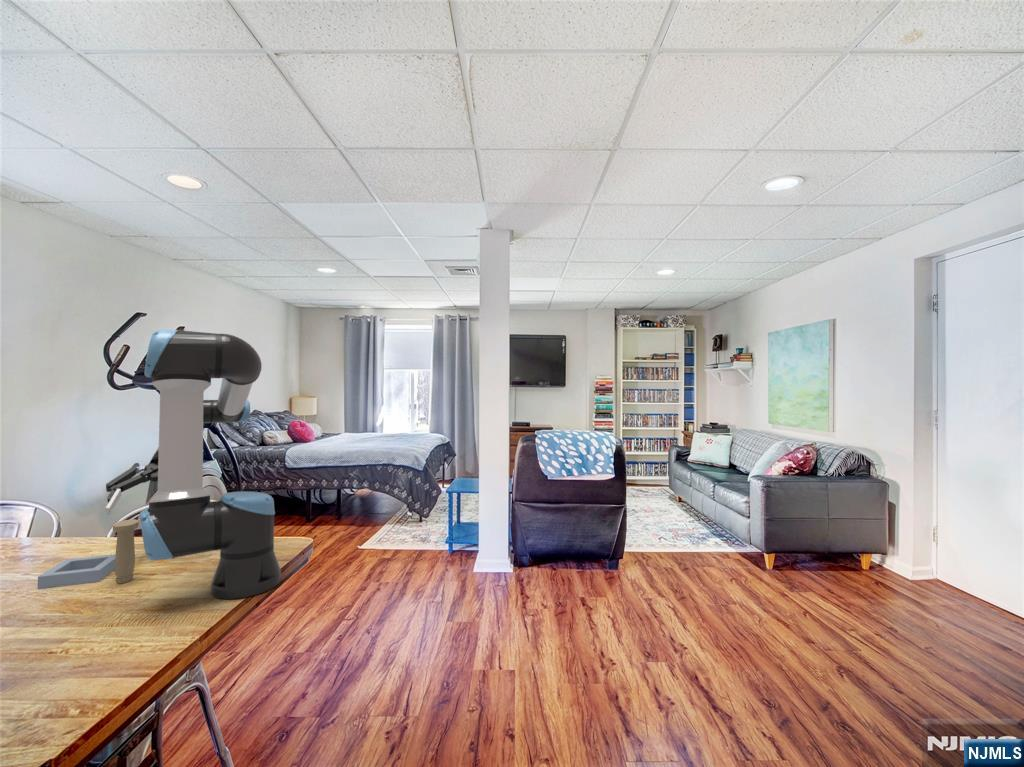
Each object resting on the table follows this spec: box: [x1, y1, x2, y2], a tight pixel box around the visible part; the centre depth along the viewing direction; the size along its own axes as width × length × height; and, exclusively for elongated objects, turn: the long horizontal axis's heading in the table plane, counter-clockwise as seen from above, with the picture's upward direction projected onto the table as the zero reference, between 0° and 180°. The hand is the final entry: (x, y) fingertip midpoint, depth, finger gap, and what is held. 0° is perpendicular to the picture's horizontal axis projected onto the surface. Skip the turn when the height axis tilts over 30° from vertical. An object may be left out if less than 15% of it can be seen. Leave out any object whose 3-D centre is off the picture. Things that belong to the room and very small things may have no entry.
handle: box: [112, 518, 139, 584], centre depth 113 cm, size 5×6×15 cm
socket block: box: [37, 553, 116, 590], centre depth 116 cm, size 12×12×3 cm
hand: (139, 513), depth 118 cm, fingers open, 13 cm apart
